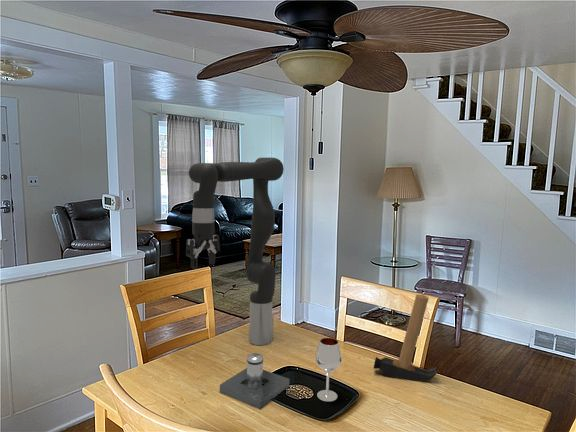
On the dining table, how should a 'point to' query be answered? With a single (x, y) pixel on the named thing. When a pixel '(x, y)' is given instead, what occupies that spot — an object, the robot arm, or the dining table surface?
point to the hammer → (408, 349)
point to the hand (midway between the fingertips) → (203, 266)
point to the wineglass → (328, 364)
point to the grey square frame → (251, 396)
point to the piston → (254, 370)
